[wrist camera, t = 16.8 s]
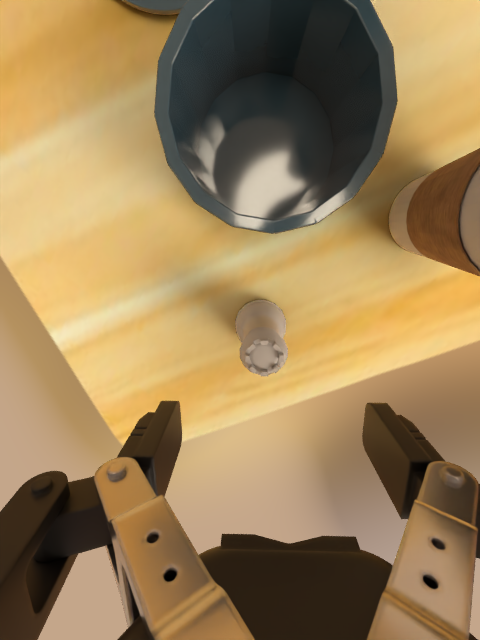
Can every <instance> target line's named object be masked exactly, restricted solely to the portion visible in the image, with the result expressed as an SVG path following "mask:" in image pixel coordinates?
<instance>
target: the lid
mask: <svg viewBox="0 0 480 640" xmlns="http://www.w3.org/2000/svg"><path fill="white" fill-rule="evenodd" d="M121 1H123V2H125V3H126V4H128V5H130V6H132V7H134V8H136V9H139V10H141V11H144V12H148V13H152V14H160V15H172V14H179V12H180V10H181V8H182V7H183V5H184V4H185V3H186V2H188V1H189V0H121Z"/></svg>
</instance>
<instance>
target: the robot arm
mask: <svg viewBox="0 0 480 640" xmlns="http://www.w3.org/2000/svg"><path fill="white" fill-rule="evenodd" d="M181 441H182V426H181V412H180V403H179V401H161V402H160V404H159V406H158V408H157V410H156V412H148V413H147V414H146V415H144V416H143V417H142V418H141V419H139V421H138V423H137V424H136V426H135V429H133V431H132V433H131V436H129V438H128V440H127V441H126V443H125V445H124V446H123V448H122V450H121V451H120V453H119V455H118V457H117V458H115V459H112V460H110V461H108V462H106V463H104V464H103V465H102V466H100V467H99V469H98V470H97V471H96V473H95V476H93V477H90V478H86V479H81V480H77V481H72V482H68V479H67V476H66V474H64V473H63V472H60V471H50V472H45V473H42V474H39V475H37V476H35V477H33V478H31V479H30V480H28V481H27V482H26V483H25V484H23V485H22V487H20V488H19V490H18V491H17V492H16V493H15V495H14V496H13V497H12V498H11V499H10V501H9V502H8V503H7V504H6V505H5V507H4V508H3V509H2V510H1V512H0V640H37V639H38V637H39V635H40V633H41V631H42V629H43V627H44V625H45V623H46V620H47V618H48V616H49V614H50V612H51V610H52V608H53V605H54V604H55V601H56V599H57V597H58V595H59V593H60V591H61V588H62V587H63V585H64V583H65V580H66V578H67V576H68V574H69V572H70V570H71V567H72V565H73V564H74V561H75V559H76V557H77V555H78V553H82V552H85V551H88V550H92V549H95V548H99V547H102V546H106V550H107V553H108V556H109V560H110V563H111V566H112V569H113V573H114V576H115V579H116V583H117V585H118V589H119V592H120V596H121V600H122V604H123V609H124V613H125V617H126V621H127V625H128V629H127V630H126V631H125V632H124V633H123V634H122V635H121V636H120V638H119V639H118V640H477V639H476V638H475V637H474V636H473V635H472V634H470V632H469V629H470V617H471V605H472V593H473V582H474V570H475V558H480V484H478V481H477V480H476V478H475V477H474V476H473V475H472V474H471V473H470V472H468V471H467V470H465V469H464V468H462V467H460V466H458V465H455V464H452V463H449V462H445V460H444V459H443V458H442V457H441V456H440V455H439V453H438V452H437V451H436V450H435V449H434V447H433V446H432V445H431V444H430V443H429V442H428V441H427V440H426V439H425V437H424V436H423V434H422V433H420V432H419V430H418V429H417V427H416V426H415V425H414V424H413V423H412V422H411V421H409V420H408V419H406V418H405V417H403V416H402V415H396V414H395V412H394V411H393V410H392V409H391V407H390V406H389V405H388V404H387V403H367V405H366V408H365V417H364V426H363V445H364V448H365V451H366V453H367V455H368V457H369V458H370V460H371V462H372V464H373V466H374V468H375V470H376V472H377V474H378V475H379V477H380V479H381V481H382V483H383V485H384V487H385V489H386V491H387V493H388V495H389V497H390V498H391V500H392V502H393V504H394V506H395V508H396V510H397V512H398V514H399V516H400V517H401V519H408V522H407V525H406V528H405V531H404V534H403V537H402V540H401V543H400V546H399V549H398V552H397V555H396V558H395V561H394V564H393V565H391V564H390V563H388V562H387V561H385V560H384V559H382V558H380V557H378V556H376V555H374V554H371V553H369V552H366V551H363V550H360V548H359V545H358V542H357V539H356V537H343V536H342V537H340V536H321V537H317V538H312V539H308V540H304V541H300V542H296V543H291V544H288V543H283V542H280V541H276V540H272V539H269V538H265V537H261V536H258V535H251V534H248V535H247V534H222V538H221V546H219V547H215V548H212V549H209V550H207V551H205V552H203V553H201V554H199V555H198V554H197V552H196V550H195V548H194V547H193V545H192V543H191V542H190V540H189V538H188V537H187V535H186V533H185V531H184V530H183V528H182V526H181V524H180V523H179V521H178V519H177V518H176V516H175V514H174V512H173V511H172V509H171V507H170V506H169V504H168V502H167V501H166V499H165V497H164V496H165V493H166V490H167V487H168V484H169V481H170V478H171V475H172V472H173V469H174V466H175V462H176V459H177V456H178V453H179V450H180V447H181Z"/></svg>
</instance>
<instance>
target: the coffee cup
mask: <svg viewBox="0 0 480 640" xmlns="http://www.w3.org/2000/svg"><path fill="white" fill-rule="evenodd" d="M389 228H390V232H391V235H392V237H393V239H394V240H395V242H396V243H397V244H398V245H399V246H400V247H402V248H403V249H405V250H406V251H409V252H412V253H415V254H418V255H421V256H425V257H427V258H430V259H433V260H435V261H438V262H441V263H444V264H447V265H449V266H452V267H455V268H458V269H461V270H463V271H466V272H469V273H472V274H475V275H477V276H480V148H479V149H477V150H475V151H473V152H471V153H469V154H467V155H465V156H463V157H461V158H459V159H457V160H455V161H453V162H451V163H449V164H447V165H445V166H443V167H441V168H439V169H437V170H436V171H433V172H431V173H429V174H427V175H424V176H422V177H420V178H418V179H416V180H414V181H412V182H411V183H409V184H408V185H407V186H405V187H404V188H403V189H402V190H401V191H400V192H399V194H398V195H397V197H396V198H395V200H394V202H393V204H392V206H391V209H390V213H389Z"/></svg>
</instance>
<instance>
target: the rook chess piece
mask: <svg viewBox="0 0 480 640" xmlns="http://www.w3.org/2000/svg"><path fill="white" fill-rule="evenodd" d="M235 321H236V333H237V335H238V338H239V340H240V341H241V342H242V345H241V347H240V359H241V361H242V363H243V365H244V366H245V367H246V368H247V369H248V370H249V371H250V372H252V373H256V374H259V375H261V376H268V375H269V374H271V373H276V372H277V371H278V370H279V369H281V367H282V366H283V365H284V364H285V362H286V359H287V357H288V348H287V345H286V343H285V341H284V339H283V337H284V335H285V333H286V319H285V316H284V314H283V312H282V310H281V309H280V308H279V307H278V306H277V305H276V304H275V303H272V302H270V301H267V300H254V301H252V302H250V303H247V304H246V305H245V306H244V307H243V308H242V309H241V310H240V311H239V312H238V315H237V317H236V320H235Z"/></svg>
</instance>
